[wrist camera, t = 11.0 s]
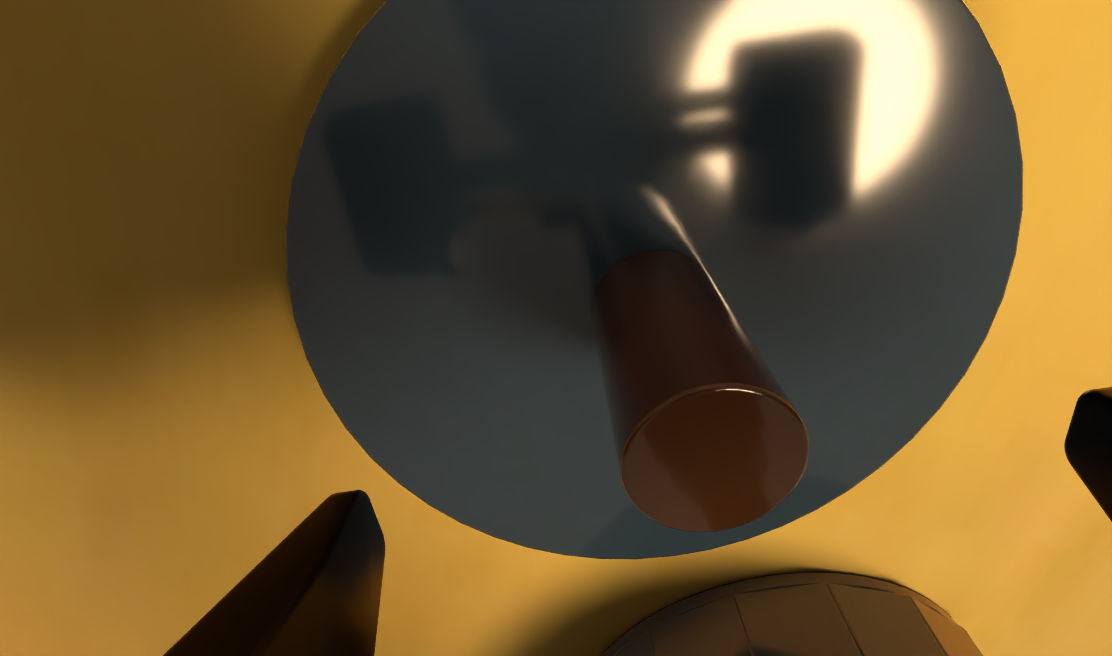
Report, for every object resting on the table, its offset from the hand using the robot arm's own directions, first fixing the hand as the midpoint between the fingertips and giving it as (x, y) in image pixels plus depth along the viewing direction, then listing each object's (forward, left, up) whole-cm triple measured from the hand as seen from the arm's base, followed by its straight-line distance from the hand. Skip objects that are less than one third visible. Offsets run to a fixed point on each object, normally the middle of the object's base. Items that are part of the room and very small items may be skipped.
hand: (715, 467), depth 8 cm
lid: (0, 0, -5) cm, 5 cm away
